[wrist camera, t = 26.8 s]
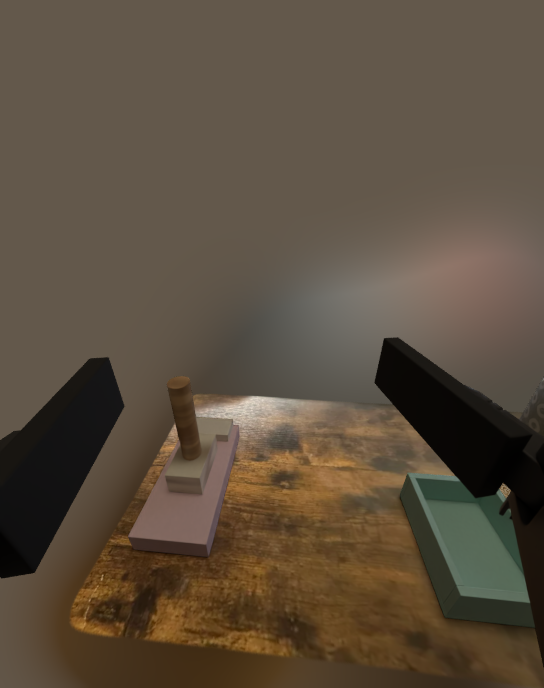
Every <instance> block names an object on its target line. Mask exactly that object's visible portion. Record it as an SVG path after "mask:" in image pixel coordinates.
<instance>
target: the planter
mask: <svg viewBox="0 0 544 688" xmlns="http://www.w3.org/2000/svg"><path fill="white" fill-rule="evenodd" d="M519 420H520V421H522V422H523V423H525V424H526V425H527V426H529V427H530V428H532V429H533V430H534V431H536V432H537V433H539V434H540V435H542V436H543V437H544V377H543V379H542V381H541V382H540V384H539V386H538V388H537V389H536V391H535V393H534V394H533V396H532V398H531V400H530V402H529V403H528V405H527V407H526V408H525V410H524V412H523V414H522V415H521V417H520V419H519Z"/></svg>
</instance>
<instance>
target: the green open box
mask: <svg viewBox="0 0 544 688" xmlns="http://www.w3.org/2000/svg"><path fill="white" fill-rule="evenodd" d="M400 498H401V500H402V503H403V506H404V508H405V511H406V514H407V517H408V519H409V522H410V525H411V527H412V530H413V533H414V536H415V538H416V541H417V544H418V546H419V549H420V552H421V554H422V557H423V560H424V563H425V565H426V568H427V571H428V573H429V576H430V579H431V582H432V584H433V587H434V590H435V592H436V595H437V598H438V600H439V603H440V606H441V609H442V611H443V614H444V617H445V618H454V619H462V620H471V621H480V622H489V623H498V624H507V625H516V626H525V627H533V628H535V624H534V620H533V615H532V610H531V605H530V601H529V596H528V591H527V587H526V582H525V577H524V572H523V568H522V563H521V558H520V553H519V549H518V544H517V539H516V534H515V530H514V525H513V520H511V519H509V517H510V516H511V511H510V509H508V510H507V511H506V512H505V514H504V515H503V516H502V515H500V514H499V509H500V507H501V506H502V504H503V503H504V501H505V500H506V498H505V496H504V495H503V494H502V492H501V491H500V489H499V490H498V491H497V493H496V495H492V496H486V497H480V498H475V497H474V496H473V495H472V494H471V493H470V492H469V491H468V489H467V488H466V487H465V486H464V485H463V484H462V483H461V481H460V480H459V479H458V478H457V477H456V476H445V475H431V474H417V473H407V476H406V479H405V482H404V485H403V487H402V490H401V493H400Z"/></svg>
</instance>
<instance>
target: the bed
mask: <svg viewBox="0 0 544 688" xmlns="http://www.w3.org/2000/svg"><path fill="white" fill-rule="evenodd" d="M196 420H197V425H198V431H199V433H206V434H216V441H217V448H218V450H217V453H216V456H215V459H214V462H213V465H212V468H211V471H210V474H209V477H208V480H207V483H206V486H205V489H204V492H203V494H191V493H179V492H169V489H168V486H167V482H166V478H165V474H166V472H167V470H168V468H169V466H170V464H171V462H172V460H173V458H174V456H175V454H176V452H177V450H178V448H179V446H180V441H179V440H178V442H177V444H176V446H175V448H174V450H173V452H172V454H171V455H170V457H169V459H168V461H167V463H166V465H165V467H164V469H163V471H162V473H161V475H160V476H159V478H158V480H157V482H156V484H155V486H154V488H153V490H152V492H151V494H150V496H149V498H148V499H147V501H146V503H145V505H144V507H143V509H142V511H141V513H140V515H139V517H138V519H137V521H136V522H135V524H134V526H133V528H132V530H131V532H130V534H129V536H128V538H129V540H130V542H131V545H132V547H133V549H135V550H144V551H154V552H164V553H174V554H183V555H193V556H203V557H209V554H210V550H211V546H212V542H213V539H214V535H215V531H216V527H217V523H218V519H219V515H220V511H221V507H222V503H223V499H224V495H225V492H226V488H227V484H228V480H229V476H230V472H231V468H232V464H233V460H234V456H235V452H236V448H237V445H238V441H239V437H240V436H239V425H233V419H222V418H206V417H196Z"/></svg>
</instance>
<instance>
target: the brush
mask: <svg viewBox="0 0 544 688" xmlns="http://www.w3.org/2000/svg"><path fill="white" fill-rule="evenodd" d="M167 387H168V392H169V396H170V401H171V405H172V409H173V414H174V419H175V423H176V428H177V432H178V437H179V441H180V446H179V448H178V450H177V452H176V454H175V456H174V458H173V460H172V462H171V464H170V466H169V468H168V470H167V472H166V474H165V478H166V482H167V486H168V489H169V492H179V493H191V494H203V492H204V489H205V486H206V483H207V480H208V477H209V474H210V471H211V468H212V465H213V462H214V459H215V456H216V453H217V450H218V448H217V441H216V434H206V433H199V431H198V425H197V420H196V414H195V408H194V402H193V396H192V390H191V385H190V379H189V378H188V377H185V376H178V377H174V378H172V379H170V380H169V381H168V383H167Z"/></svg>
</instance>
